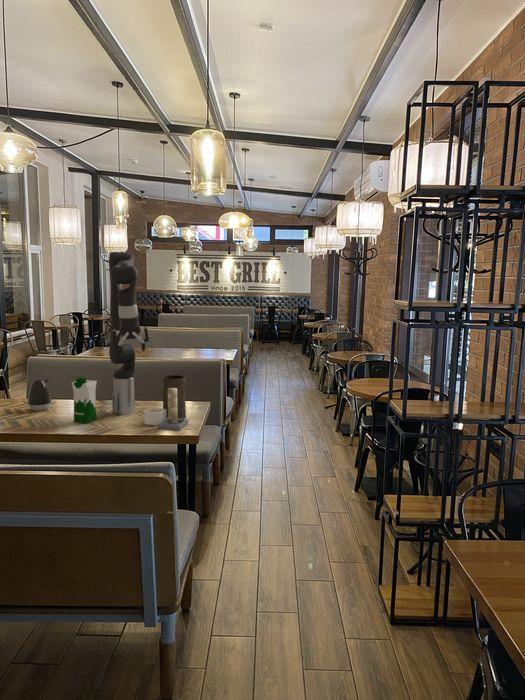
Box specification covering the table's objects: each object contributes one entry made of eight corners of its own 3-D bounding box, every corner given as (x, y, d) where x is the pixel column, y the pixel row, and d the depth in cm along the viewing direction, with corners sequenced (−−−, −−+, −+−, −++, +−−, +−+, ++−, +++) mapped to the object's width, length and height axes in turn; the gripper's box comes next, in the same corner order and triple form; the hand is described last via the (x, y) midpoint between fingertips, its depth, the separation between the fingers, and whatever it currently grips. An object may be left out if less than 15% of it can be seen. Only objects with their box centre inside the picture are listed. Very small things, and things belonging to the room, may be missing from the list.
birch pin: (166, 425, 207) (166, 389, 205) (170, 423, 211) (169, 387, 209) (175, 426, 206) (175, 390, 204) (179, 423, 210) (178, 388, 208)
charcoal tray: (157, 429, 205) (157, 423, 205) (166, 423, 215) (166, 417, 214) (179, 431, 203) (179, 425, 203) (188, 424, 213) (188, 419, 212)
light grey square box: (144, 425, 211) (144, 411, 210) (151, 420, 218) (151, 407, 217) (159, 426, 209) (159, 413, 209) (166, 421, 216) (166, 408, 216)
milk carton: (70, 422, 213) (69, 378, 210) (84, 417, 221) (83, 374, 218) (87, 424, 210) (85, 379, 207) (100, 419, 218) (99, 376, 216)
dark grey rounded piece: (56, 409, 234) (55, 378, 232) (36, 413, 225) (35, 382, 223) (43, 405, 239) (42, 375, 237) (23, 410, 231) (22, 379, 228)
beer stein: (180, 422, 216) (181, 378, 214) (158, 420, 218) (159, 376, 216) (192, 415, 231) (193, 374, 229) (171, 414, 233) (172, 373, 231)
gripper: (145, 311, 202) (149, 347, 207) (110, 314, 198) (114, 351, 203) (147, 316, 195) (150, 353, 200) (110, 319, 191) (114, 357, 197)
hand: (132, 352), depth 202 cm, fingers open, 8 cm apart
